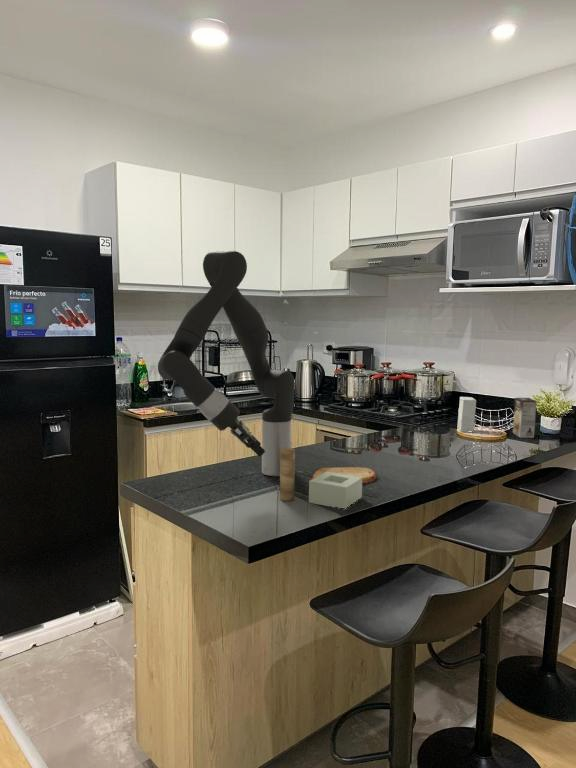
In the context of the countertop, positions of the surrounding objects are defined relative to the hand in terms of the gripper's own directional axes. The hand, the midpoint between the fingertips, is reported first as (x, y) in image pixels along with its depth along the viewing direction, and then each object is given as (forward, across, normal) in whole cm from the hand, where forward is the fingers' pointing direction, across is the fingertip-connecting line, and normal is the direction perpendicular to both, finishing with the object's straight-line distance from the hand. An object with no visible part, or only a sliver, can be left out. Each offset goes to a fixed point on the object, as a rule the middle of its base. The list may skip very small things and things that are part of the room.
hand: (260, 450), depth 157 cm
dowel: (+15, 0, +5) cm, 16 cm away
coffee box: (+98, +71, -78) cm, 144 cm away
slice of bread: (+31, +16, -10) cm, 36 cm away
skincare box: (+84, +84, -64) cm, 134 cm away
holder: (+24, -3, -5) cm, 25 cm away
